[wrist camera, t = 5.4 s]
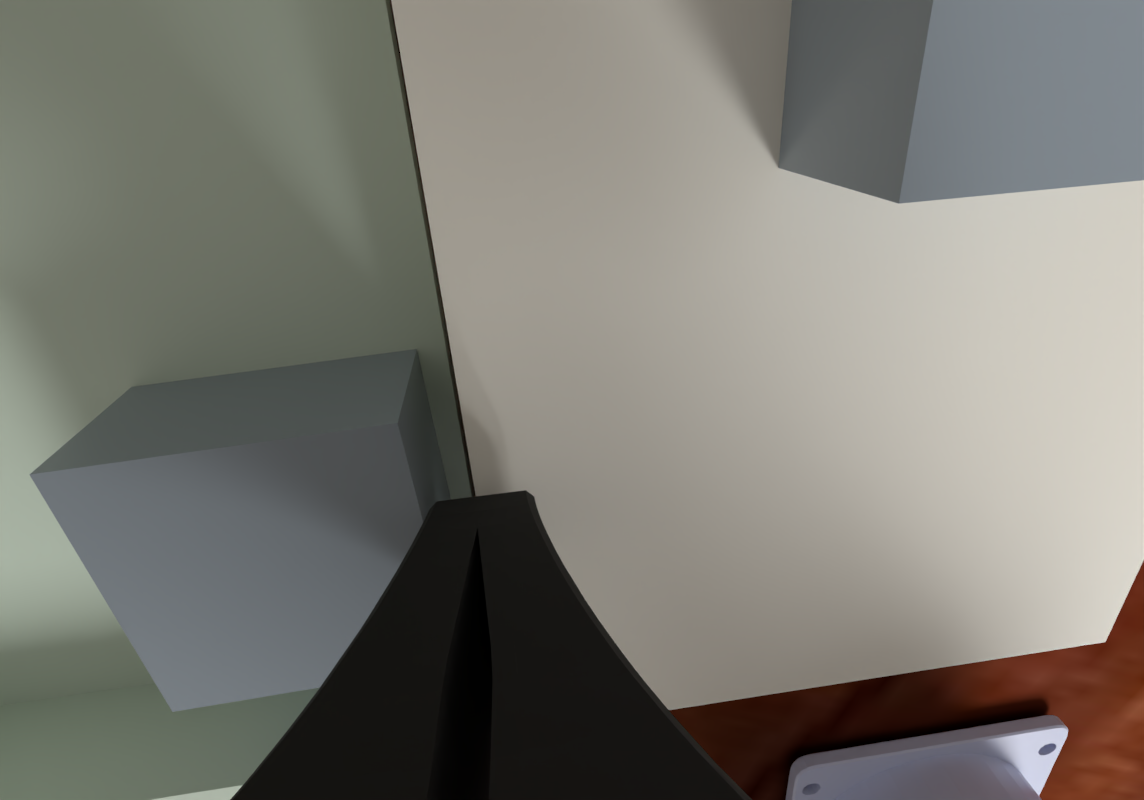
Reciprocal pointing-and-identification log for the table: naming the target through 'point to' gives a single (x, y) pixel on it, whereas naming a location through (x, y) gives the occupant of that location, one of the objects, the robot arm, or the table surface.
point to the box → (182, 314)
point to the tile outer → (964, 95)
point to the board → (770, 357)
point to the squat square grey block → (250, 516)
